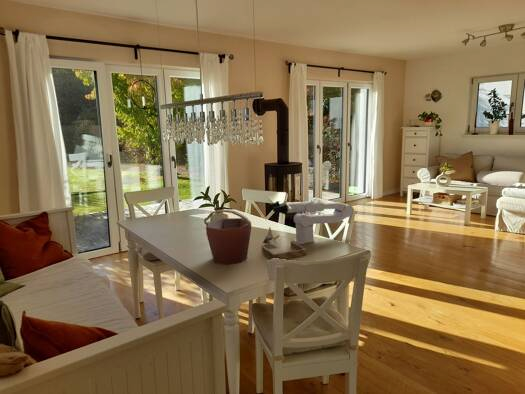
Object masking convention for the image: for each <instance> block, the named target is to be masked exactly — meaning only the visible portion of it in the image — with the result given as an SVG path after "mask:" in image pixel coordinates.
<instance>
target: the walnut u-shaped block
mask: <svg viewBox="0 0 525 394" xmlns="http://www.w3.org/2000/svg"><path fill="white" fill-rule="evenodd" d="M290 247H291V248H292V249H294V250H289V251H285V252H279V253H273V252H272V251H271V250H270V249H268V248H267V247H265V246H264V245H262V246H261V252H262V253H263V255H265V256H266V257H268V258H269V259H271V258H279V259H281V260H286V259H290V257H291V258H296V257H295V256H297V257H300V255H302V256H306V255H307V252H306V251H307V249H306V248H304V247H303V246H301V244H299V243H297V242H295V241H293V240H292V241H290ZM305 254H306V255H305ZM285 258H286V259H285Z"/></svg>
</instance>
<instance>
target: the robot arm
mask: <svg viewBox="0 0 525 394" xmlns="http://www.w3.org/2000/svg"><path fill="white" fill-rule="evenodd" d="M266 208H267V210H271V211H272V212H273V213H279V214H282V215H285V216H287V214H290V213H291V214H292V213H296V214H294V216H293V223H295V239H292V241H293V242H294V243H296V244H298V245H303V244H308V243H313V242H315V240H314V228H313V225H316V224H319V225H320V224H334V223H341V222H342V221H343V220H345V219H347V218H350V217H351V216H352V215H353V213H354V207H353V206H352V205H351V204H347V203H344V202H342V201H341V202H339V201H333V202H325V203H324V202H323V201H321V200H320V199H318V200H317V201H313V200H310V201H307V200H303V201H292V202H288V201H287V200H285V199H284V200H283V202H281V203H280V201H276V202H274V203H271V204H268V205H267V207H266ZM324 210H334V211H333V212H332V213H329V214H328V213H326V214H311V213H313V212H315V213H316V212H323V211H324ZM303 213H309V214H303ZM310 214H311V215H310Z"/></svg>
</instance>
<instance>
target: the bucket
mask: <svg viewBox="0 0 525 394" xmlns="http://www.w3.org/2000/svg"><path fill="white" fill-rule="evenodd" d="M217 213H218V214H219V213H229V214H234V216H235V215H236V216H237V217H238V218H236V217H234V218H233V217H232V218H231V217H230V218H227V217H226V218H225V217H224V218H220V219H219V218H218V219H216V220H212V221H208V220H209V219H210V218H212V216H214V215H215V214H217ZM203 223H204V224H205V226H206V227H205V232H206V236H207V242H208V245H209V248H210V252H211V256H212V258H213V262H214V264H219V265H224V266H229V265H236V264H237V265H238V264H242V263H243V262H244V261H245V260H246V259H248V252H249V246H250V239H251V234H252V233H251V232H252V221H251V220H250V219H249V218H248V216H245V215H244V214H242V213H241V212H238V211H236V210H231V209H220V210H215V211H211V212H210V213H209V214H208V215H207V217H205V218H204V219H203Z"/></svg>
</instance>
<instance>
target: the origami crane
mask: <svg viewBox="0 0 525 394" xmlns="http://www.w3.org/2000/svg"><path fill="white" fill-rule="evenodd" d="M280 236H281V234H278V235H276V236H273V232H272V228H271V226H269V227H268V232H267V235H266V236H265V238H264V240H263V241H262V244H264V245H263V246H264V247H265V246H266V245H267V244H268V245H270V244H271V245H273V246H274V247H276V248H277V249H279V246H278V243H277V242H276V239H279V238H280Z"/></svg>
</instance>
